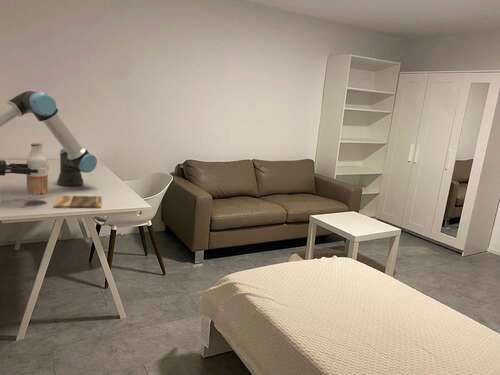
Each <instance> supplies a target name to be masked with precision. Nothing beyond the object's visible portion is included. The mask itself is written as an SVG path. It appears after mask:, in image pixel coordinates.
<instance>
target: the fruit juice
mask: <svg viewBox="0 0 500 375" xmlns="http://www.w3.org/2000/svg"><path fill="white" fill-rule="evenodd" d="M30 147H31V150H30V152H29V154H28V156H27V158H26V164H27V165H28V168H30V169H31V168H46V165H48V158H47V157H46V156H45V154H44V151H43V150H44V149H42V148H43V143H38V142H32V143H30ZM48 173H49V170H47V168H46V174H31V173H30V175H28V174H26V196H27V199H29V200H34V201H35V200H38V201H39V200H45V199H47V198H48V196H49V182H48V181H49V178H48V177H49V176H48V175H49V174H48Z"/></svg>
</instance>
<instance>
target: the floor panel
mask: <svg viewBox="0 0 500 375" xmlns="http://www.w3.org/2000/svg"><path fill="white" fill-rule="evenodd" d="M101 208H102V196H101V195H99V196H95V195H94V196H91V195H89V196H88V195H58V196H57V197H56V199H55V201H54V203H53V209H101Z"/></svg>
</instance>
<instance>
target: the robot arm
mask: <svg viewBox="0 0 500 375" xmlns="http://www.w3.org/2000/svg"><path fill="white" fill-rule="evenodd" d="M30 113H31V114H33V115H34V117H35V118H36V120H37V121H38V122H40V123H41V122H42V123H43V124H44V125H45V126H46V127H47V129H48V130H49V132H50V133H51V134H52V135H53V137H54V138H55V139H56V141H57V142H58V143H59V144H60V146H61V147H62V148H60V151H59V152H60V153H59V157H60V158H59V160H60V161H59V163H60V164H59V165H60V166H59V170H60V171H59V175H58V178H57V180H56V184H57V185H59V186H62V187H80V186H83V185H84V179H83V175H82V173H91V172H93V171H94V170H95V169H96V167H97V164H98V160H97V157H96V156H95V155H94V153H93V154H92V153H91V152H89V150H88V149H87V148H86V146H82V145H81V144H80V143H79V141H78V140H77V138H76V136H74V134H72V132H71V131H70V129H69V128H68V126H67V125H66V124H65V122H64V121H63V120H62V118H61V117H60V115H59V114H58V113H59V109H58V108H57V102H56V100H55V98H54V97H53V96H52V95H51V94H49V93H46V92H43V91H34V90H33V91H32V90H27V91H23V92H22V93H19V94H17V95H16V96H14V97H13V98H11V99H9V100H8V101H7V102H6V104H5V105H3V106H2V107H0V128H1V127H3V126H4V125H6V124H8V123H9V122H10V121H12V120H14V119H16V118H17V117H22V116H24V115H26V114H30ZM49 167H50V166H49V164H47V165H46V168H47V171H49V170H50V168H49ZM46 168H31V169H30V168H28V165H27V163H13V162H12V163H10V164H7V163H6V161H5V160H4V159H0V176H1V177H3V176H5V175H6V174H15V175H16V174H17V175H27V174H28V175H30V173H31V174H46Z"/></svg>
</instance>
